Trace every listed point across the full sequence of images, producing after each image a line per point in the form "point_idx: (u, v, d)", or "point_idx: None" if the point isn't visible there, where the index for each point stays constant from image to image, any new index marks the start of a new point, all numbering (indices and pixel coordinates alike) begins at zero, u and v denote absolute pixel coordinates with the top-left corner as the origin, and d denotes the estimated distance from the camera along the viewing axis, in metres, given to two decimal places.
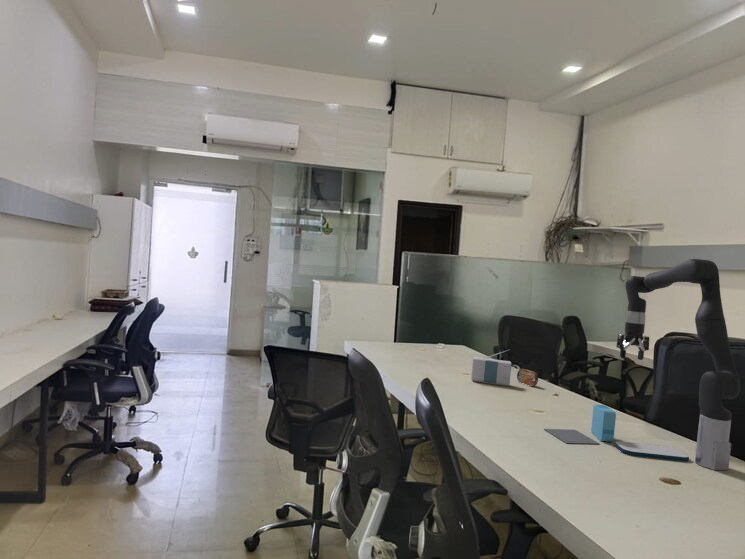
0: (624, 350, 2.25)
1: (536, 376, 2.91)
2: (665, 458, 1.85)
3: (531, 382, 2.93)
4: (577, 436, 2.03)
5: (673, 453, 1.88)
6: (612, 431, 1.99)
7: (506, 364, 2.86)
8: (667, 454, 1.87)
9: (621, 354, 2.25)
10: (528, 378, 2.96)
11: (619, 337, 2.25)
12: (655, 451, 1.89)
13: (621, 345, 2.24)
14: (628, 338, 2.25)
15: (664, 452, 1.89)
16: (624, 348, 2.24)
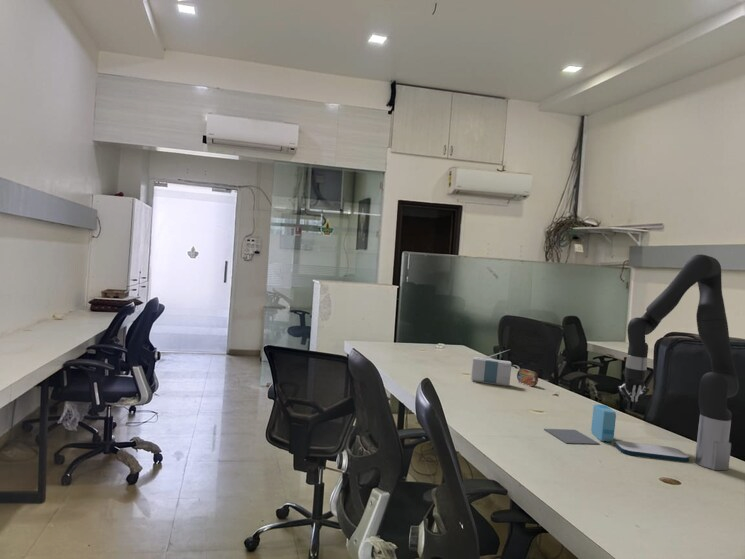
0: (632, 401, 2.06)
1: (536, 376, 2.91)
2: (664, 458, 1.85)
3: (531, 382, 2.93)
4: (577, 436, 2.03)
5: (673, 453, 1.88)
6: (612, 431, 1.99)
7: (506, 364, 2.86)
8: (667, 454, 1.87)
9: (628, 406, 2.07)
10: (528, 378, 2.96)
11: (620, 390, 2.06)
12: (655, 451, 1.89)
13: (627, 396, 2.06)
14: (629, 389, 2.06)
15: (664, 452, 1.89)
16: (632, 399, 2.06)
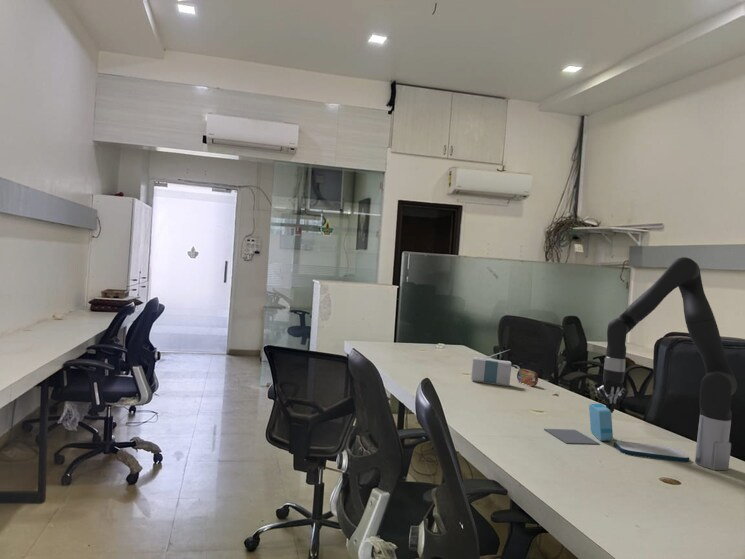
0: (610, 403, 2.05)
1: (536, 376, 2.91)
2: (664, 458, 1.85)
3: (531, 382, 2.93)
4: (577, 436, 2.03)
5: (673, 453, 1.88)
6: (610, 429, 1.99)
7: (506, 364, 2.86)
8: (666, 454, 1.86)
9: None
10: (528, 378, 2.96)
11: (599, 392, 2.05)
12: (655, 451, 1.89)
13: (606, 398, 2.04)
14: (607, 390, 2.04)
15: (664, 452, 1.88)
16: (610, 401, 2.04)
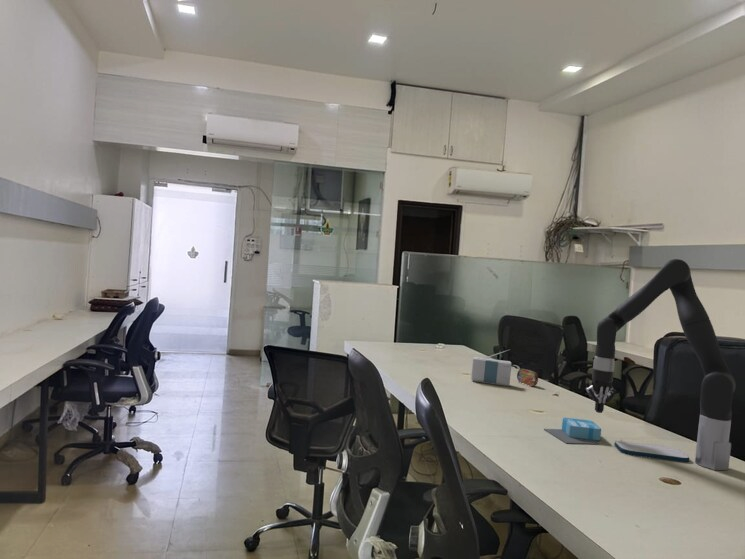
0: (599, 403, 2.03)
1: (536, 376, 2.91)
2: (664, 458, 1.85)
3: (531, 382, 2.93)
4: None
5: (673, 453, 1.88)
6: (590, 430, 2.00)
7: (506, 364, 2.86)
8: (666, 454, 1.86)
9: (596, 407, 2.04)
10: (528, 378, 2.96)
11: (588, 392, 2.03)
12: (654, 451, 1.89)
13: (595, 398, 2.03)
14: (596, 390, 2.03)
15: (664, 452, 1.88)
16: (599, 401, 2.03)
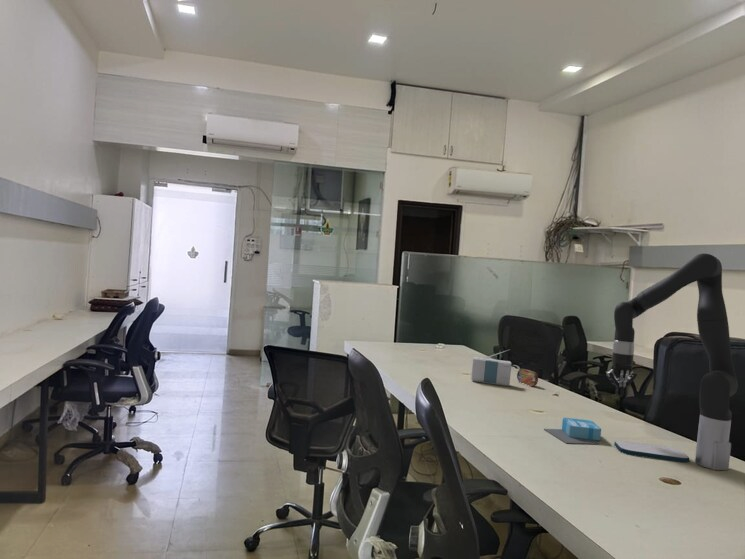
0: (620, 387, 2.05)
1: (536, 376, 2.91)
2: (663, 458, 1.85)
3: (531, 382, 2.93)
4: None
5: (673, 454, 1.88)
6: (590, 430, 2.00)
7: (506, 364, 2.86)
8: (666, 454, 1.86)
9: (617, 391, 2.05)
10: (528, 378, 2.96)
11: (608, 375, 2.05)
12: (654, 451, 1.89)
13: (615, 382, 2.04)
14: (616, 374, 2.04)
15: (664, 452, 1.88)
16: (620, 385, 2.04)
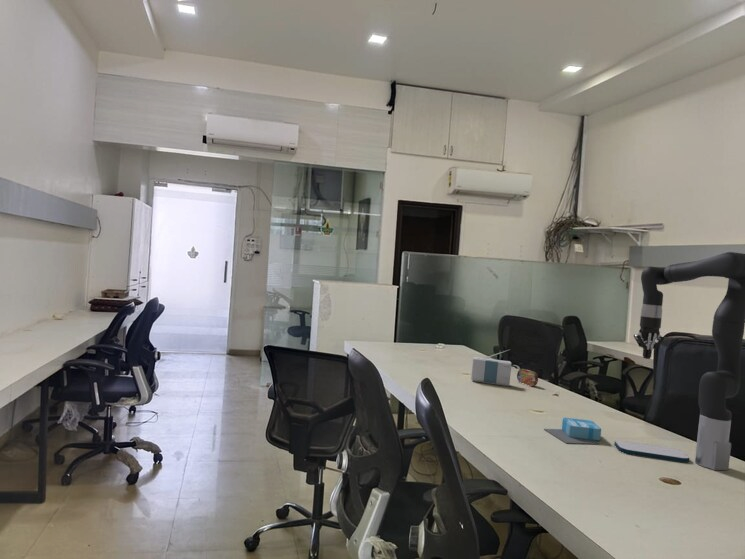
0: (647, 349, 2.10)
1: (536, 376, 2.91)
2: (663, 458, 1.85)
3: (531, 382, 2.93)
4: None
5: (673, 454, 1.88)
6: (590, 430, 2.00)
7: (506, 364, 2.86)
8: (666, 454, 1.86)
9: (644, 354, 2.11)
10: (528, 378, 2.96)
11: (636, 338, 2.10)
12: (654, 451, 1.89)
13: (643, 344, 2.09)
14: (644, 337, 2.09)
15: (663, 452, 1.88)
16: (647, 347, 2.10)
